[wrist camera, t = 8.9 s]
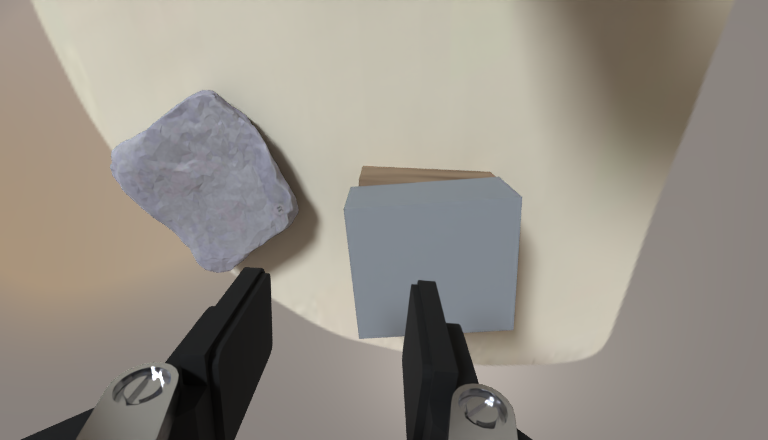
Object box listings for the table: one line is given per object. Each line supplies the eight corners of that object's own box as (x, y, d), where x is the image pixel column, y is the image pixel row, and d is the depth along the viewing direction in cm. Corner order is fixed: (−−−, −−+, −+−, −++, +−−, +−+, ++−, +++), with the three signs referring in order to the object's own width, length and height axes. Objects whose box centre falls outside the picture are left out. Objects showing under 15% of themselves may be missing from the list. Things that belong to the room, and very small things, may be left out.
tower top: (350, 187, 25) (343, 209, 21) (499, 176, 25) (522, 197, 21) (363, 299, 28) (359, 338, 24) (494, 291, 28) (513, 329, 24)
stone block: (221, 75, 28) (119, 156, 28) (201, 68, 23) (80, 164, 24) (321, 196, 32) (230, 266, 32) (321, 210, 27) (215, 291, 27)
